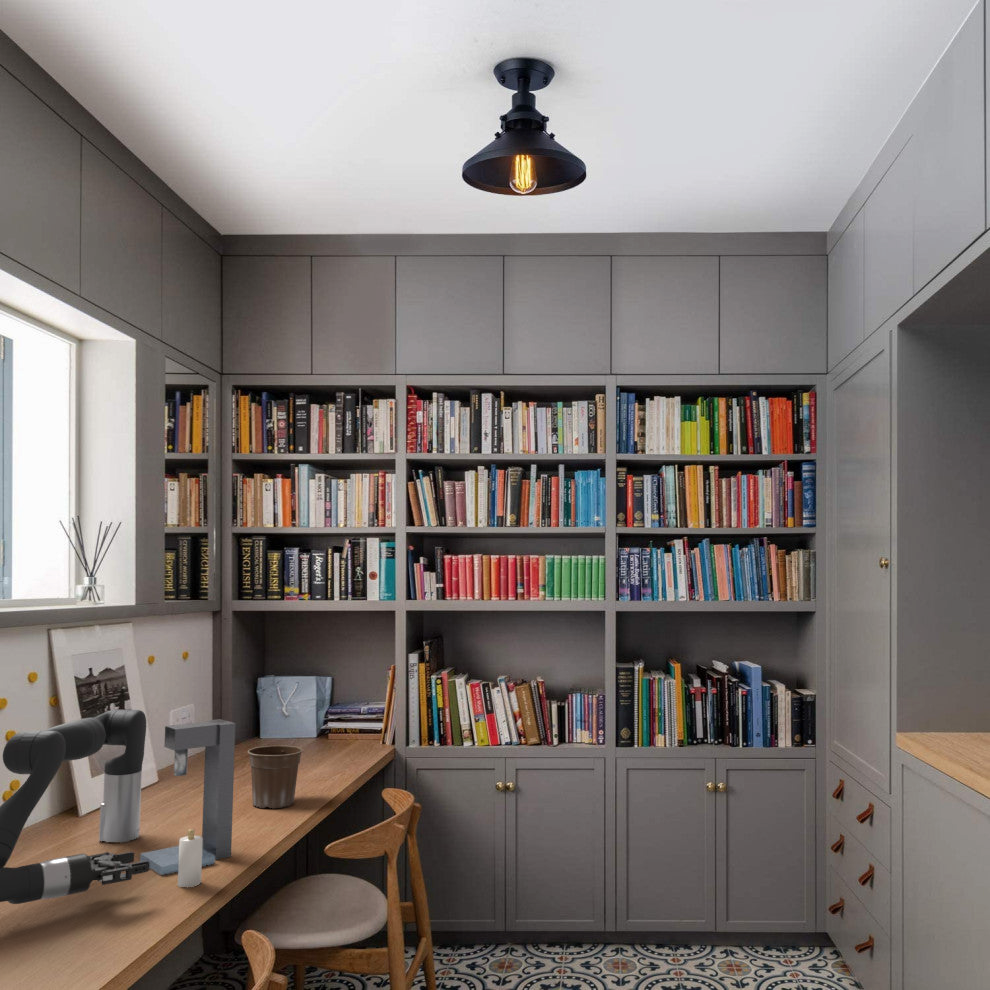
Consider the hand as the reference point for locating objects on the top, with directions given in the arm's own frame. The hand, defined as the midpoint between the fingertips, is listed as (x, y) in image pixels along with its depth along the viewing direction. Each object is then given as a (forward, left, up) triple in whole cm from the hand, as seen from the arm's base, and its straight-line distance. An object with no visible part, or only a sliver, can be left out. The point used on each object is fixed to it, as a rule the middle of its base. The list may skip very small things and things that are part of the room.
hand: (141, 861), depth 199 cm
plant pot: (+20, +76, -8) cm, 79 cm away
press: (+3, +28, -7) cm, 29 cm away
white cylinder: (+9, +7, -7) cm, 14 cm away
